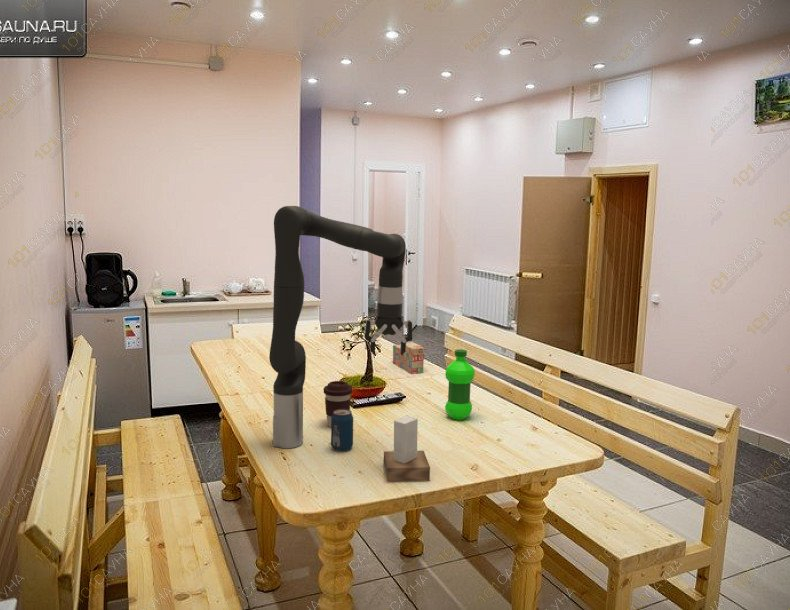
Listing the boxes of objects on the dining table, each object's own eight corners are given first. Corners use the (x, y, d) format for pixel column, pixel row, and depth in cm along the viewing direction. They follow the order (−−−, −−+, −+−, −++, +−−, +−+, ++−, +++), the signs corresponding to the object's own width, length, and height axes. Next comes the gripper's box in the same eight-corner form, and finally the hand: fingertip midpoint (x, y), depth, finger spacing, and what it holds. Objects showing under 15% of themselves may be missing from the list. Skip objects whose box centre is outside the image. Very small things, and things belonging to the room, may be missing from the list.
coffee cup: (325, 431, 214) (326, 388, 212) (321, 421, 223) (321, 380, 221) (354, 428, 217) (355, 386, 214) (348, 419, 226) (349, 378, 224)
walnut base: (387, 481, 176) (387, 468, 176) (383, 464, 188) (383, 451, 187) (429, 480, 178) (430, 467, 177) (423, 463, 189) (423, 450, 189)
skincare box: (405, 454, 186) (406, 415, 184) (417, 457, 183) (418, 418, 181) (392, 460, 181) (393, 420, 179) (404, 464, 179) (405, 423, 177)
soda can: (353, 444, 203) (353, 408, 201) (352, 452, 196) (353, 415, 194) (331, 443, 203) (332, 408, 201) (330, 452, 196) (330, 415, 194)
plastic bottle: (474, 414, 234) (477, 348, 230) (469, 423, 224) (472, 355, 220) (447, 411, 237) (449, 346, 233) (441, 420, 227) (444, 352, 223)
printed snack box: (392, 363, 306) (392, 338, 304) (404, 362, 309) (404, 337, 307) (411, 374, 287) (412, 348, 285) (423, 373, 289) (424, 347, 287)
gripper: (366, 302, 184) (364, 356, 187) (415, 303, 185) (412, 357, 188) (365, 298, 191) (363, 350, 194) (412, 299, 193) (409, 351, 196)
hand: (387, 353), depth 191 cm, fingers open, 8 cm apart
